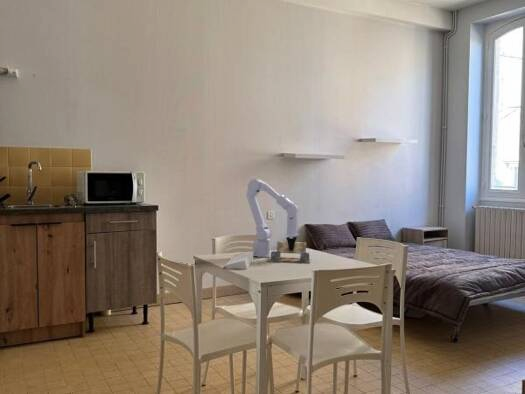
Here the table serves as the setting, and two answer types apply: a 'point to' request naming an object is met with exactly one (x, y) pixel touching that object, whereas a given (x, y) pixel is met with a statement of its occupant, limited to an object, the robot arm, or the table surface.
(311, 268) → the table surface
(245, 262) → the decorative molding
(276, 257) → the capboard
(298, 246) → the slat
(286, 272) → the table surface
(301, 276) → the table surface
